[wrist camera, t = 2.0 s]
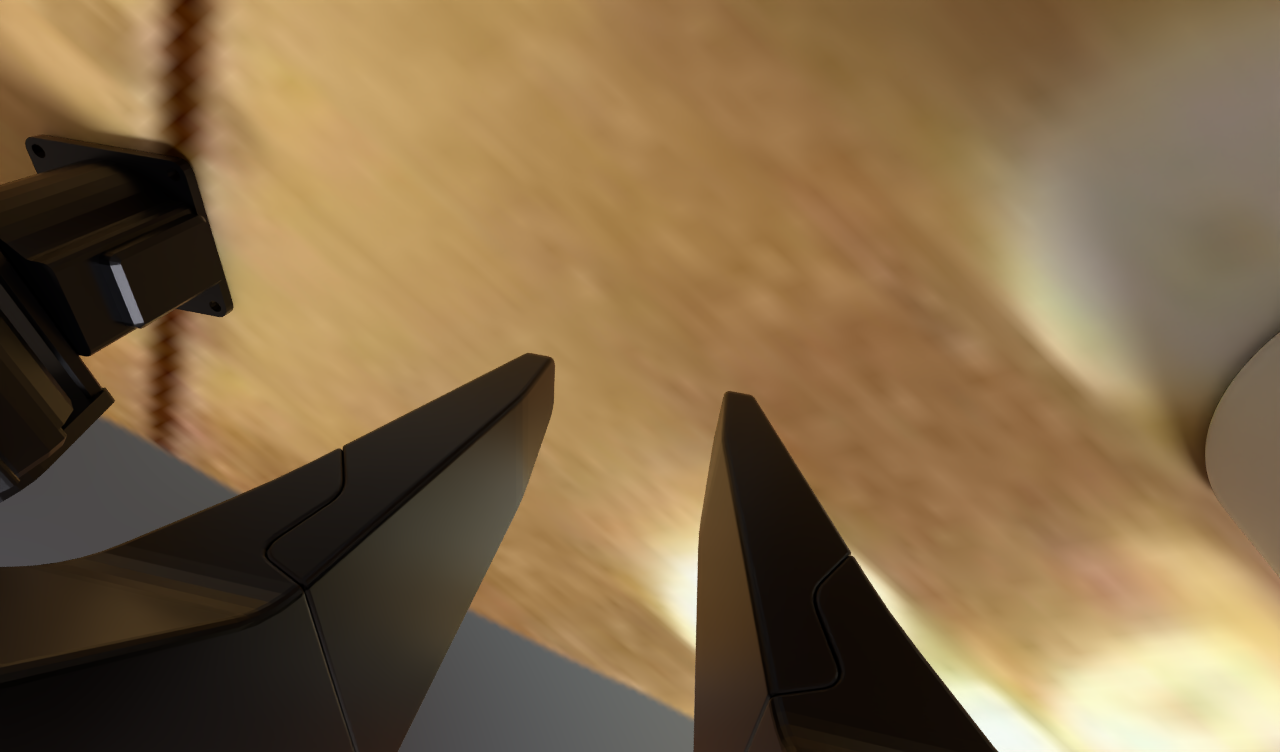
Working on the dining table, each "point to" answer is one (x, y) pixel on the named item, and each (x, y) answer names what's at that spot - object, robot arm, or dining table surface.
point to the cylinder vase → (1250, 451)
